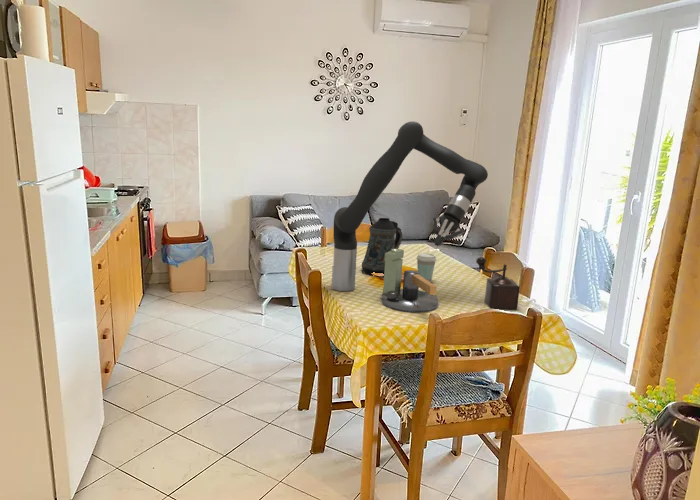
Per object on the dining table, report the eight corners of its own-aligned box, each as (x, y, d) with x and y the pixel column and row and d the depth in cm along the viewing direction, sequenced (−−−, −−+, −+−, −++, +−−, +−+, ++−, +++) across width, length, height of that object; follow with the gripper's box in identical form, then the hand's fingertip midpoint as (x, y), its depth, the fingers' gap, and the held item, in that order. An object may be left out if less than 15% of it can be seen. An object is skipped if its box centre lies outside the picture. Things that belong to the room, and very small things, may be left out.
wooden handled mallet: (399, 295, 208) (401, 270, 205) (413, 294, 209) (415, 269, 207) (423, 313, 188) (425, 286, 186) (438, 312, 190) (441, 286, 188)
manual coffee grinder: (509, 300, 215) (514, 257, 211) (517, 310, 204) (523, 264, 200) (470, 299, 215) (475, 255, 210) (477, 308, 204) (482, 262, 200)
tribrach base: (370, 303, 203) (373, 253, 198) (397, 290, 221) (400, 243, 216) (423, 317, 192) (428, 263, 187) (447, 301, 210) (451, 252, 205)
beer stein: (355, 273, 243) (358, 219, 237) (371, 264, 260) (374, 213, 254) (389, 279, 236) (393, 223, 230) (403, 269, 253) (407, 217, 248)
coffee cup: (433, 285, 231) (436, 258, 228) (414, 283, 232) (416, 256, 230) (434, 279, 239) (437, 253, 236) (415, 277, 241) (417, 251, 238)
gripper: (442, 197, 208) (421, 233, 204) (473, 212, 205) (453, 249, 201) (441, 205, 215) (420, 240, 211) (470, 220, 212) (450, 256, 208)
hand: (436, 245), depth 206 cm, fingers closed
